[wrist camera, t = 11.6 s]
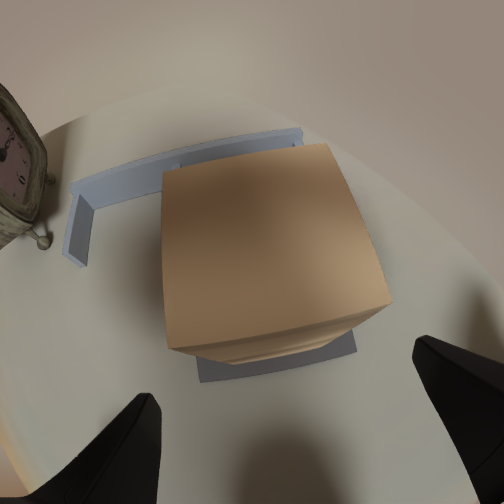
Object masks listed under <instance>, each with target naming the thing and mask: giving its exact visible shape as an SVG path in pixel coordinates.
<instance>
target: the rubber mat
mask: <svg viewBox="0 0 504 504" xmlns="http://www.w3.org/2000/svg"><path fill="white" fill-rule="evenodd" d="M355 352H357V349H356V345H355V340H354V336H353V332H352V329H351V330H349V331H348V332H346V333H345V334H343V335H341V336H339V337H338V338H336V339H334V340H333V341H331V342H329V343H327V344H326V345H324V346H322V347H320V348H316V349H312V350H308V351H303V352H299V353H294V354H290V355H285V356H280V357H275V358H270V359H265V360H259V361H254V362H248V363H242V364H235V365H232V364H228V363H223V362H219V361H214V360H210V359H206V358H202V357H198V356H196V359H197V366H198V373H199V379H200V383H202V382H212V381H220V380H228V379H235V378H242V377H249V376H255V375H261V374H266V373H272V372H277V371H282V370H287V369H292V368H296V367H301V366H305V365H310V364H314V363H318V362H322V361H326V360H330V359H334V358H337V357H341V356H344V355H348V354H351V353H355Z"/></svg>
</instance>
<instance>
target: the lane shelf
mask: <svg viewBox="0 0 504 504" xmlns="http://www.w3.org/2000/svg"><path fill="white" fill-rule="evenodd" d="M302 138H303V132H302V130H301V128H300V127H299V128H290V129H282V130H274V131H267V132H260V133H254V134H247V135H242V136H236V137H230V138H225V139H220V140H215V141H210V142H206V143H201V144H197V145H192V146H188V147H184V148H180V149H176V150H172V151H168V152H164V153H161V154H157V155H153V156H150V157H146V158H143V159H140V160H136V161H133V162H130V163H127V164H124V165H120V166H117V167H114V168H111V169H109V170H106V171H103V172H100V173H97V174H94V175H92V176H89V177H86V178H84V179H81V180H79V181H76V182H74V183H71V184H70V187H69V191H70V192H71V193H72V194H73V195H74V197H73V201H72V205H71V209H70V214H69V218H68V223H67V228H66V233H65V239H64V245H63V251H62V255H64V256H65V257H67V258H68V259H69V260H71V261H72V262H73V263H75V264H76V265H78V266H79V267H85V266H87V257H88V248H89V240H90V233H91V226H92V220H93V214H94V210H95V209H99V208H102V207H105V206H108V205H112V204H115V203H118V202H122V201H125V200H129V199H132V198H136V197H140V196H143V195H147V194H151V193H155V192H159V191H162V175H163V172H166V171H170V170H174V169H178V168H182V167H186V166H190V165H194V164H199V163H203V162H208V161H213V160H217V159H222V158H227V157H233V156H238V155H243V154H249V153H255V152H261V151H267V150H274V149H281V148H288V147H296V146H304V144H303V142H302Z"/></svg>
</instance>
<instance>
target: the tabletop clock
mask: <svg viewBox="0 0 504 504" xmlns="http://www.w3.org/2000/svg"><path fill="white" fill-rule="evenodd" d="M46 172H47V151H46V149H45V147H44V145H43V143H42V141H41V139H40V137H39V136H38V134H37V132H36V131H35V129H34V127H33V126H32V124H31V123H30V121H29V120H28V118H27V116H26V115H25V113H24V112H23V111H22V109H21V108H20V106H19V105H18V104H17V102H16V101H15V99H14V98H13V96H12V95H11V94H10V93H9V91H8V90H7V89H6V88H5V87H4V86H3V85H2V84H1V83H0V250H1V249H2V248H3V247H4V246H6V245H7V244H8V243H10V242H11V241H12V240H14V239H15V238H16V237H18V236H19V235H20V234H22V233H23V232H24V233H26V234H27V235H29V236H30V237H32V238H34V239H35V240H37V246H38V248H39V249H41V250H46V249H48V247H49V245H50V240H49V238H48V237H47V236H40V237H39V236H38V235H37V234H36V233H35V232H34V231H33V230H32V229H31V228H30V227H32V226H33V225H34V224H35V222H36V220H37V219H38V216H39V213H40V209H41V203H42V199H43V194H44V189H45V182H46V183H47V184H52V183H53V182H54V181H55V175H54V173H52V172H49V173H47V174H46Z"/></svg>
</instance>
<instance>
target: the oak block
mask: <svg viewBox="0 0 504 504" xmlns="http://www.w3.org/2000/svg"><path fill="white" fill-rule="evenodd" d="M161 245H162V277H163V295H164V310H165V322H166V333H167V343H168V349H171V350H175V351H179V352H182V353H186V354H190V355H194V356H198V357H202V358H206V359H210V360H214V361H219V362H223V363H228V364H232V365H235V364H242V363H248V362H254V361H259V360H265V359H270V358H275V357H280V356H285V355H290V354H294V353H299V352H303V351H308V350H312V349H316V348H320V347H322V346H324V345H326V344H327V343H329V342H331V341H333V340H334V339H336V338H338V337H339V336H341V335H343V334H345V333H346V332H348V331H349V330H351V329H353V328H354V327H356V326H358V325H359V324H361V323H362V322H364V321H365V320H367V319H369V318H370V317H372V316H373V315H375V314H376V313H378V312H379V311H381V310H382V309H384V308H385V307H387V306H388V305H389V304H391V303H392V299H391V296H390V293H389V290H388V286H387V283H386V280H385V277H384V274H383V272H382V269H381V266H380V263H379V260H378V257H377V255H376V252H375V249H374V247H373V244H372V241H371V239H370V236H369V234H368V231H367V229H366V226H365V224H364V221H363V219H362V217H361V214H360V212H359V209H358V207H357V205H356V203H355V200H354V198H353V196H352V194H351V191H350V189H349V187H348V185H347V183H346V181H345V179H344V176H343V174H342V172H341V170H340V168H339V166H338V164H337V162H336V160H335V158H334V156H333V154H332V152H331V150H330V149H329V147H328V145H327V143H322V144H313V145H304V146H296V147H288V148H281V149H274V150H267V151H261V152H255V153H249V154H243V155H238V156H233V157H227V158H222V159H217V160H213V161H208V162H203V163H199V164H194V165H190V166H186V167H182V168H178V169H174V170H170V171H166V172H163V175H162V206H161Z"/></svg>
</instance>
